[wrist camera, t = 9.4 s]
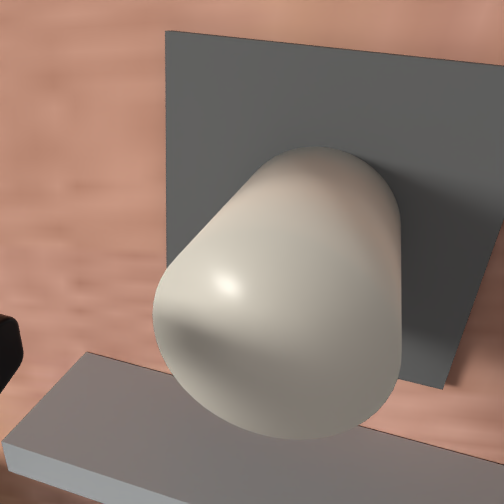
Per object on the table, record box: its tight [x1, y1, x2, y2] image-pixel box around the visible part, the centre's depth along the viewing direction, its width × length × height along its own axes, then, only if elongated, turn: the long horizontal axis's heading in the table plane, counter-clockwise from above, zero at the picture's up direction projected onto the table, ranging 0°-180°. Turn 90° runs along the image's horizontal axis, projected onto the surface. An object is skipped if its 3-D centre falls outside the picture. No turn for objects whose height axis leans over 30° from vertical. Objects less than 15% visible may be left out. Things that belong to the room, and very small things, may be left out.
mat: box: [165, 31, 504, 390], centre depth 15 cm, size 10×10×1 cm
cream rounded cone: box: [153, 147, 402, 440], centre depth 12 cm, size 5×5×6 cm
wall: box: [1, 352, 504, 504], centre depth 17 cm, size 18×2×5 cm, turn 85°
